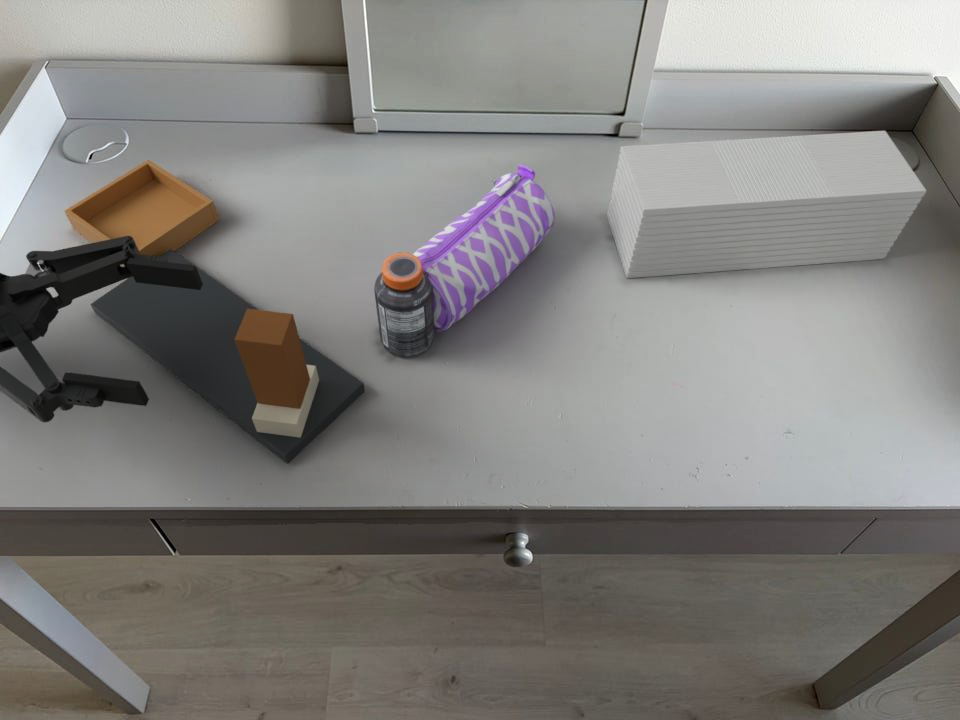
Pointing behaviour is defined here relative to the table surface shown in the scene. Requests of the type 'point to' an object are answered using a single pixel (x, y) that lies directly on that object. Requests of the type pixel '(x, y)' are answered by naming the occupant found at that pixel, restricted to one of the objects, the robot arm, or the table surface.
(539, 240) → the pencil case
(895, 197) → the stack of papers
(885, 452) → the table surface
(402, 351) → the pill bottle
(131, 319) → the slate board
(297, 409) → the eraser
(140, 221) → the tray
